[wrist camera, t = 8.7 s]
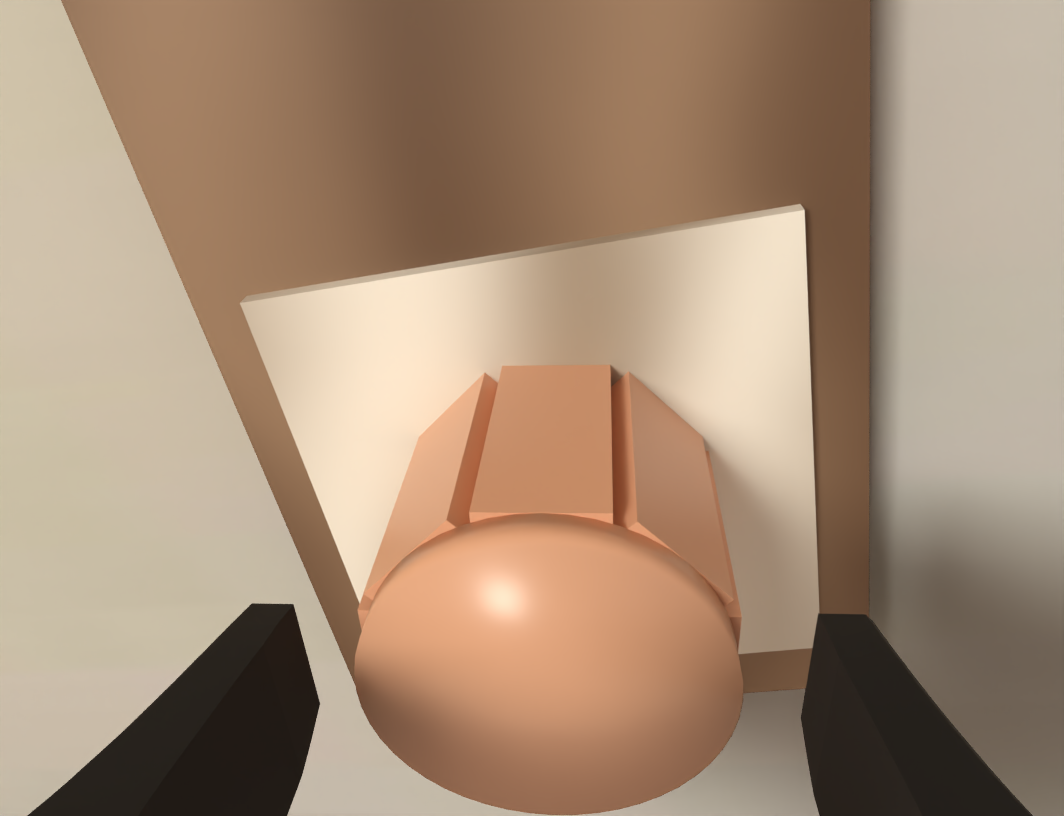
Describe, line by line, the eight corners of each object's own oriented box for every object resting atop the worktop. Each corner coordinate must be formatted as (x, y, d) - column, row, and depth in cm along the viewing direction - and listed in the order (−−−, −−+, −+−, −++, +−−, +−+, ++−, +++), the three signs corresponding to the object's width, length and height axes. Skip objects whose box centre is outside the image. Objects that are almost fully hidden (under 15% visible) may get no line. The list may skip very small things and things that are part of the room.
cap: (714, 363, 14) (760, 546, 10) (697, 601, 16) (728, 821, 12) (402, 366, 14) (324, 541, 10) (435, 597, 17) (382, 808, 13)
